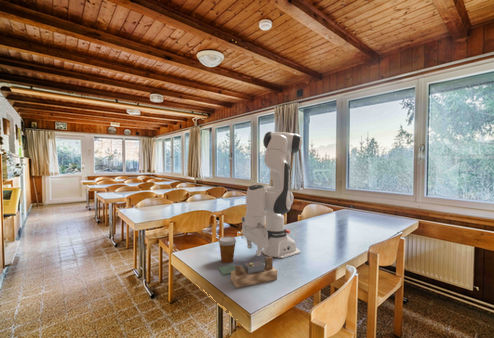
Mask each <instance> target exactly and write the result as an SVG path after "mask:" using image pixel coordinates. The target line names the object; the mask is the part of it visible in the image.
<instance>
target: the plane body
mask: <svg viewBox="0 0 494 338" xmlns="http://www.w3.org/2000/svg"><path fill="white" fill-rule="evenodd" d="M273 263H274V260H273V257H271V256H265V257H264V272H259V273H254V274H247V273H246V272H245V271H244V268H243V265H236V266H235V271H231V274H230V278H229V282H230V283H231V285H232V286H233V287H234V288H235V289H236V288H240V287H241V288H242V287H247V286H251V285H255V284H256V285H257V284H259V283H265V282H270V281H274V280H278V270H277V269H276V268H275V267H274V266H273Z"/></svg>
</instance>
